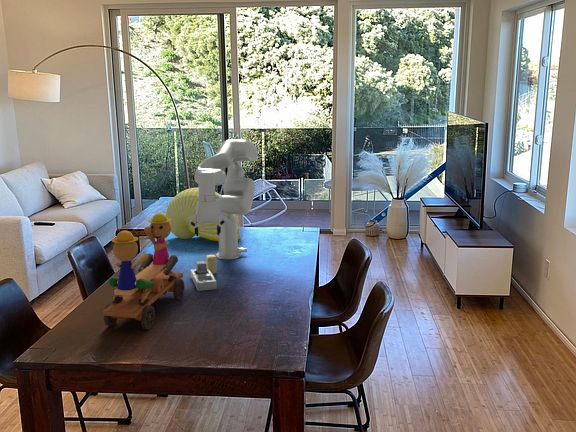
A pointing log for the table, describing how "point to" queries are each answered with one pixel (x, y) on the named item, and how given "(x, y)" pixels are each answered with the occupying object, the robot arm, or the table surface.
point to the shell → (185, 208)
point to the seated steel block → (201, 267)
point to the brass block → (211, 263)
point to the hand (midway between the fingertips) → (207, 235)
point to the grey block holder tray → (203, 280)
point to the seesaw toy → (143, 275)
